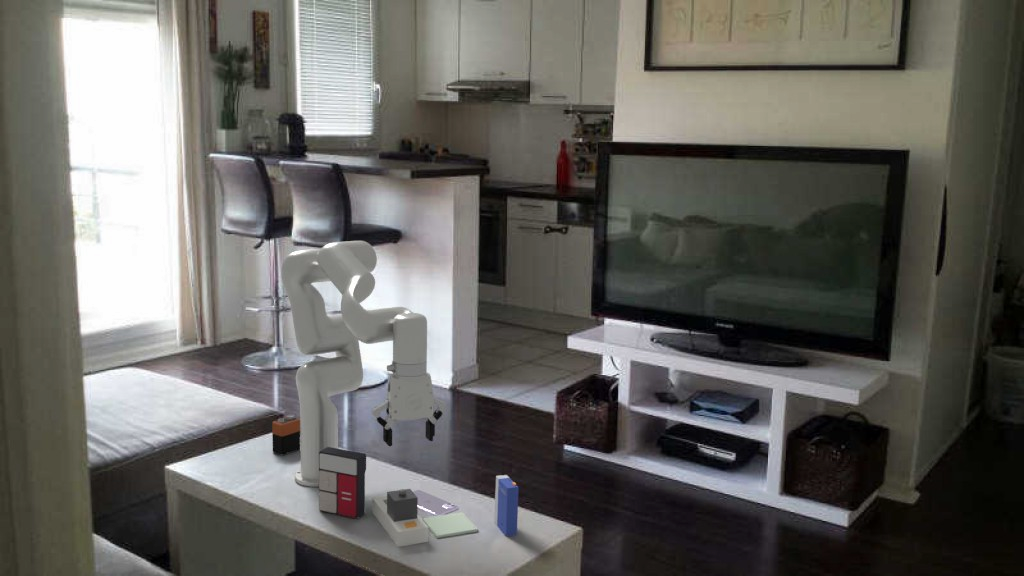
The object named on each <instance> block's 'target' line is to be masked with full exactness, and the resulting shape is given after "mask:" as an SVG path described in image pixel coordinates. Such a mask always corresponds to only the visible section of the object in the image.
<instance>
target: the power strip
mask: <svg viewBox="0 0 1024 576" xmlns="http://www.w3.org/2000/svg"><path fill="white" fill-rule="evenodd" d="M371 502H372V505H371V506H372V508H371V509H372V511H371V513H373V515H374V516H375V517H376V519H377V520H378V521H379V523H380V524H381V525H382V527H383V528H384V530H385V532H386V533H387V534H388V535H389V537H390V538H391V539H392V541H393V542H394V543H395V545H396V546H397V547H398V548H400V547H405V546H411V545H418V544H423V543H428V542H429V528H428V526H427V525H426V524H425V523H424V521H423V520H422V518H421V516H420V515H419V514H418V513H417V518H416V519H410V520H403V521H397V522H394V521H393V520H392V518H391V517H390V516H389V514H388V513H387V495H384V496H383V495H382V496H377V497H372V501H371Z"/></svg>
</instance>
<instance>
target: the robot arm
mask: <svg viewBox="0 0 1024 576" xmlns="http://www.w3.org/2000/svg"><path fill="white" fill-rule="evenodd" d="M377 261H378V256H377V254H376V251H375V249H374V247H373V246H372V245H371V244H370V243H369V242H367V241H365V240H350V241H346V240H345V241H335V242H330V243H328V244H325V245H324V246H322V247H321V248H312V249H310V248H309V249H302V250H296V251H293V252H291V253H289V254H287V255H286V256H285V258H284V259H283V261H282V263H281V269H280V270H281V271H280V272H281V274H280V275H281V281H282V284H283V287H284V290H285V293H286V295H287V297H288V300H289V304H290V309H291V310H290V311H291V315H292V317H291V318H292V323H293V329H294V336H295V342H296V347H297V348H298V350H299V352H300V354H302V355H305V356H315V355H316V356H318V355H323V354H329V353H335V356H334V357H329V358H328V357H327V358H322V359H315V360H310V361H308V362H304V363H303V364H302V365H300V366H299V367H298V369H297V371H296V374H295V383H296V389H297V394H298V398H299V399H298V401H299V415H300V416H299V417H300V418H299V419H300V469H299V470H297V471H296V472H295V473H294V481H295V482H296V483H298V484H299V485H301V486H305V487H314V488H319V451H321V450H323V449H325V448H327V447H331V448H337V449H339V416H338V415H339V414H338V411H337V407H336V406H335V405H334V404H333V402H332V401H331V399H330V397H331V396H332V397H333V396H335V395H339V394H346V393H350V392H353V391H356V390H358V389H359V388H360V387H362V383H363V379H364V370H363V369H364V368H363V362H362V354H361V349H360V348H361V347H360V342H361V343H363V344H367V345H373V344H378V343H384V342H386V343H387V342H392V360H391V364H390V365H386V371H387V372H390V375H389V379H388V384H387V390H386V400H384V402H382V403H380V404H378V405H377V406H375V407H373V408H372V409H371V413H372V415H373V417H374V419H375V421H376V422H377V423H378V424H380V426H382V427H383V429H382V430H383V433H382V434H383V435H382V436H383V437H382V440H383V442H384V443H386V445H387V446H388V447H392V446H393V428H391V426H393V424H394V423H395V422H405V421H406V422H408V421H415V420H424V419H426V422H425V438H426V439H427V440H428V441H429V442H433V441H434V437H435V434H436V424H437V422H438V420H439V419H440V418H441V417H442V416H443V413H444V411H445V409H446V408H447V403H446V402H445V401H443V400H441V399H439V398H436V397H435V396H434V391H433V383H432V381H433V380H432V378H431V377H432V376H431V373H429V372H428V371H427V370H428V369H427V368H428V367H427V365H428V362H427V360H428V320H427V317H426V316H425V315H424V314H421V313H417V312H413V311H411V310H410V309H409V308H406V307H403V306H393V307H384V308H378V309H377V308H375V309H371V310H366V309H365V308H364V307H363V306H362V305H361V304H362V302H363V301H365V300H366V299H367V298H369V297H370V296H371V294H372V293H373V291H374V290H375V288H376V279H375V277H374V275H373V274H372V272H373V271H374V270H375V268H376V266H377ZM323 282H324V283H325V282H331V283H332V284H333V285H334V287H335V288H336V289H337V290H338V291H339V293H340V294H341V295H342V297H341V301H340V313H341V314H334V315H328V314H327V309H326V302H325V299H324V297H323V295H322V294H321V293H320V291H319V290H318V288H316V286H314V285H313V283H323ZM391 372H392V373H391ZM435 406H437V408H436V409H435V410H434V408H435ZM384 411H385V412H386V416H385V417H384V418H383V417H382V415H381V413H382V412H384Z"/></svg>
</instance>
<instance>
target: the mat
mask: <svg viewBox="0 0 1024 576" xmlns="http://www.w3.org/2000/svg"><path fill="white" fill-rule="evenodd" d="M421 519H422V520H423V521H424V523H425V524H426V525H427V526H428V530H429V531H430V532H431V533H432V534H433V535H434V537H435V538H436V539H440V538H446V537H452V536H458V535H459V536H460V535H464V534H470V533H476V532H477V533H478V532H479V531H478V530H479V529H478V527H477V526H476V525H475V524H474V523H473V522H472V521H471V520H470V519H469V518H468V517H467V516H466V514H464V512H462V511H460V512H453V513H452V512H451V513H447V514H444V515H440V516H434V515H432V516H428V517H422V518H421Z"/></svg>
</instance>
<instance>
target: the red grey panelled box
mask: <svg viewBox="0 0 1024 576" xmlns="http://www.w3.org/2000/svg"><path fill="white" fill-rule="evenodd" d="M366 470H367V454H366V453H363V452H359V451H351V450H347V449H342V448H338V449H337V448H331V447H327V448H325V449H323V450H321V451H319V487H318V510H319V511H320V512H324V513H330V514H334V515H339V516H344V517H349V518H353V519H359V518H361V517H362V516H363V515H364V514H365V512H366V511H365V509H366V507H365V506H366V504H365V503H366V500H365V498H366V483H365V482H366Z"/></svg>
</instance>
